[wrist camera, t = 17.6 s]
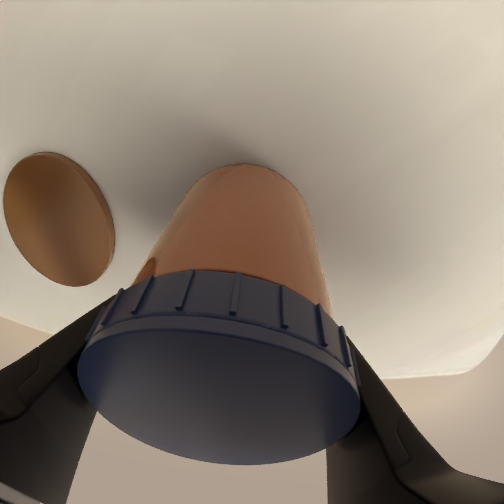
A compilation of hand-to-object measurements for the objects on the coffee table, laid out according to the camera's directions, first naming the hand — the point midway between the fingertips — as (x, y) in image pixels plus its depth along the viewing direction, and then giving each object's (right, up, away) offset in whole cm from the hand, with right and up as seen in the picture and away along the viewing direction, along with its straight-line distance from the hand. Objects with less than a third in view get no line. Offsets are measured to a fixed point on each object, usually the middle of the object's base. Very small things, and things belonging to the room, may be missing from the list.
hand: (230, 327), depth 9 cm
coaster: (-11, +4, +6) cm, 14 cm away
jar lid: (0, -2, -3) cm, 3 cm away
